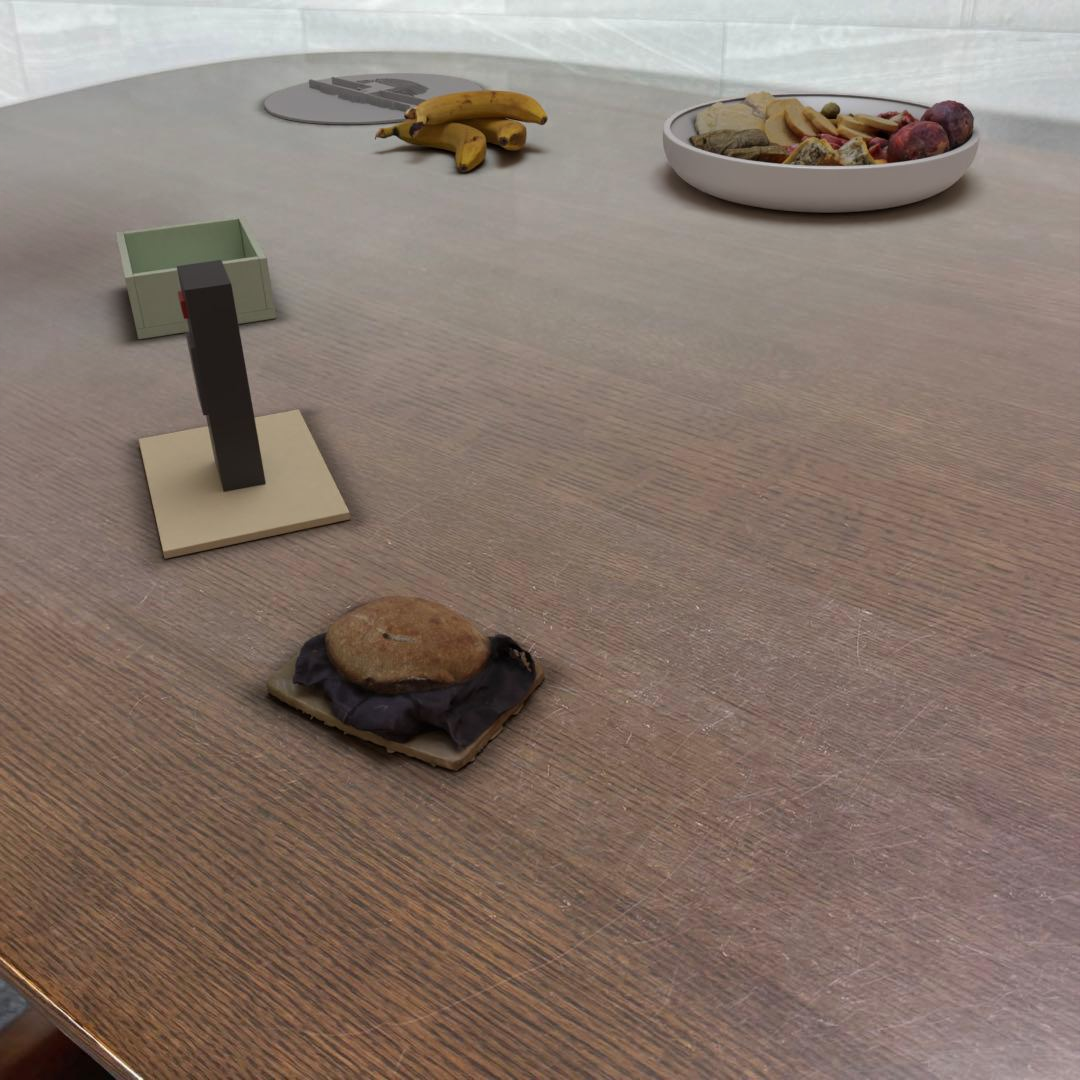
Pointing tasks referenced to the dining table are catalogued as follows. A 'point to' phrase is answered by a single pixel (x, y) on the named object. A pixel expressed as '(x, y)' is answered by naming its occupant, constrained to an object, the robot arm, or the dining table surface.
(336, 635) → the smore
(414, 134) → the banana
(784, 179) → the bowl
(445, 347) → the dining table surface
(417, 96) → the plate
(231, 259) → the green open box
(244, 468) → the bar
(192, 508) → the mat
